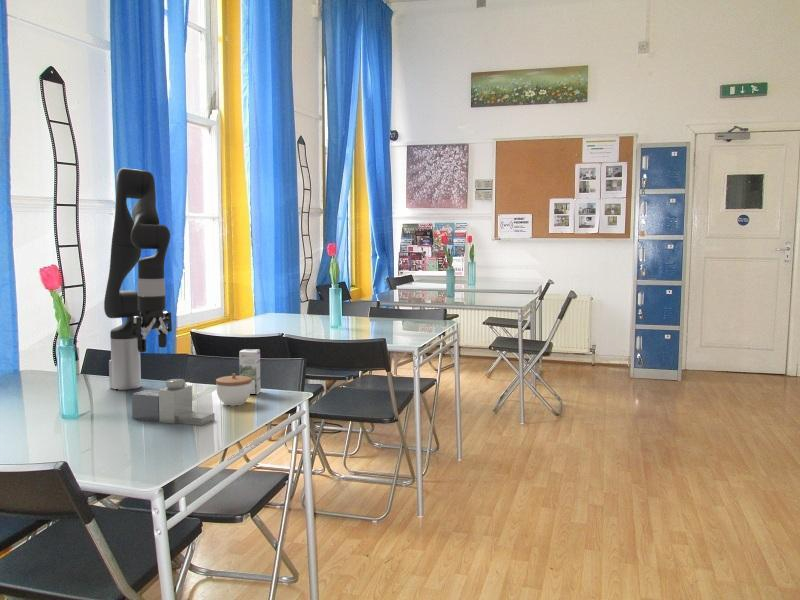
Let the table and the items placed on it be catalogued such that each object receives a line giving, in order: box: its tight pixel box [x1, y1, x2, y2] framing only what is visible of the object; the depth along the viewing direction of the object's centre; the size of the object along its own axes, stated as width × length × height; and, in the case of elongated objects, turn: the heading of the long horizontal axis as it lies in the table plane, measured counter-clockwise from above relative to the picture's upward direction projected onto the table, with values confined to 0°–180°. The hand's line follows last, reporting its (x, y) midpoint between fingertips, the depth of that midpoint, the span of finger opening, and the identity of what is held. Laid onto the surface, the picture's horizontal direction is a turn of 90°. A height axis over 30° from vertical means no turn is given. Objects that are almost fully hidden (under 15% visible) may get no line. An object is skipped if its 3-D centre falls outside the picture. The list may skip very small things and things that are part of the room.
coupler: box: [158, 378, 216, 426], centre depth 189 cm, size 23×8×11 cm, turn 71°
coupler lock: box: [131, 389, 159, 422], centre depth 192 cm, size 10×6×7 cm, turn 71°
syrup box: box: [238, 348, 262, 394], centre depth 222 cm, size 6×6×14 cm
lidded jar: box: [215, 372, 252, 407], centre depth 208 cm, size 11×11×9 cm
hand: (152, 349), depth 196 cm, fingers open, 8 cm apart
